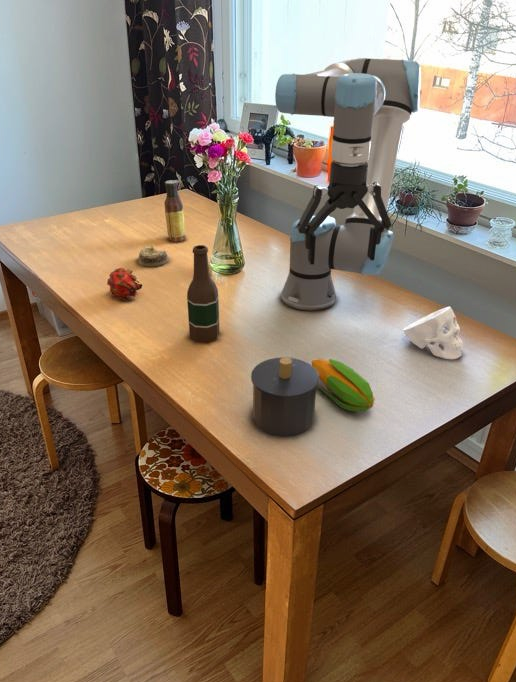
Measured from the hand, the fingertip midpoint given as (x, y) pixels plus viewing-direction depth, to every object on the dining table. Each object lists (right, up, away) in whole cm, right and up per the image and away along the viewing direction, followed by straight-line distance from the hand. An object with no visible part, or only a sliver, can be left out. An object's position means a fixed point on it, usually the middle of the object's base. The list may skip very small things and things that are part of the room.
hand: (341, 260), depth 130 cm
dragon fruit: (-57, -2, +40) cm, 69 cm away
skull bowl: (+25, -18, +17) cm, 36 cm away
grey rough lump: (-52, +12, +60) cm, 80 cm away
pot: (-13, -35, -7) cm, 38 cm away
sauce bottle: (-47, +23, +75) cm, 92 cm away
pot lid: (-13, -26, -12) cm, 32 cm away
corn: (-1, -30, 0) cm, 30 cm away
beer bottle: (-32, -15, +21) cm, 41 cm away
